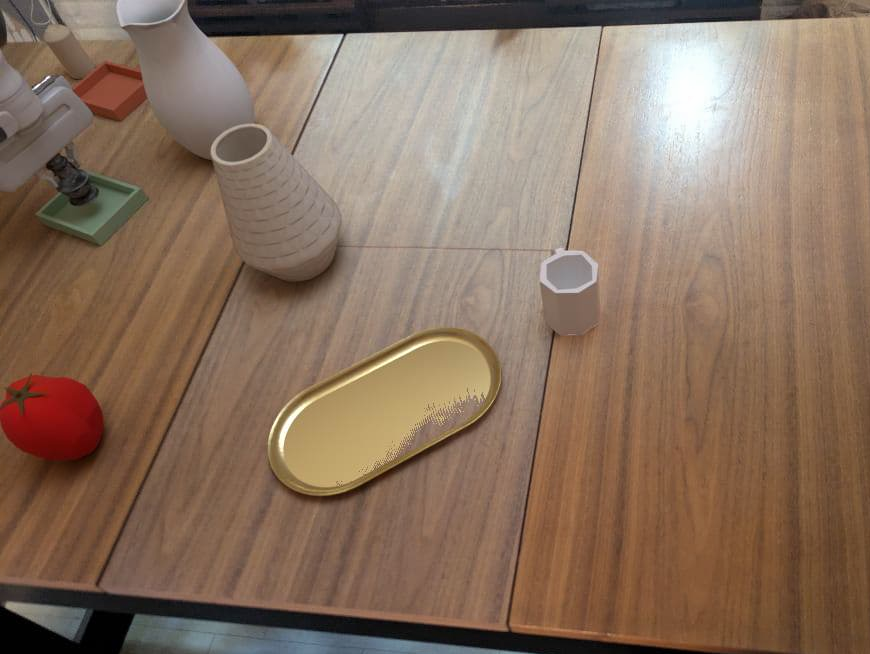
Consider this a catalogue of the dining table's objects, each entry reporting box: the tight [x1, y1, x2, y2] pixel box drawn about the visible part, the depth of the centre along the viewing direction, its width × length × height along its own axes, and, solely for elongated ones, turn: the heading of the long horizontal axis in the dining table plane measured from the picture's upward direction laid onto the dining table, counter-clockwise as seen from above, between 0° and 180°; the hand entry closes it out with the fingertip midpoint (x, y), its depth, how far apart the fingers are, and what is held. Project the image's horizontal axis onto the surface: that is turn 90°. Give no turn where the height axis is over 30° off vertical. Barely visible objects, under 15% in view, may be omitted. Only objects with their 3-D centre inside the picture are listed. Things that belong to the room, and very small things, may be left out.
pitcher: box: [115, 0, 256, 161], centre depth 126 cm, size 24×17×28 cm
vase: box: [211, 123, 342, 283], centre depth 109 cm, size 18×17×23 cm
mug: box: [539, 247, 601, 337], centre depth 104 cm, size 12×9×10 cm
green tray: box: [34, 169, 149, 247], centre depth 128 cm, size 15×13×3 cm
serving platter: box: [267, 326, 503, 497], centre depth 101 cm, size 19×35×2 cm, turn 120°
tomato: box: [0, 372, 105, 461], centre depth 98 cm, size 12×12×13 cm
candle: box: [42, 23, 96, 80], centre depth 150 cm, size 6×6×10 cm
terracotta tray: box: [71, 60, 148, 122], centre depth 147 cm, size 15×13×3 cm
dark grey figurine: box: [45, 152, 99, 207], centre depth 121 cm, size 6×6×12 cm
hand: (67, 175), depth 123 cm, fingers closed on dark grey figurine, 3 cm apart
